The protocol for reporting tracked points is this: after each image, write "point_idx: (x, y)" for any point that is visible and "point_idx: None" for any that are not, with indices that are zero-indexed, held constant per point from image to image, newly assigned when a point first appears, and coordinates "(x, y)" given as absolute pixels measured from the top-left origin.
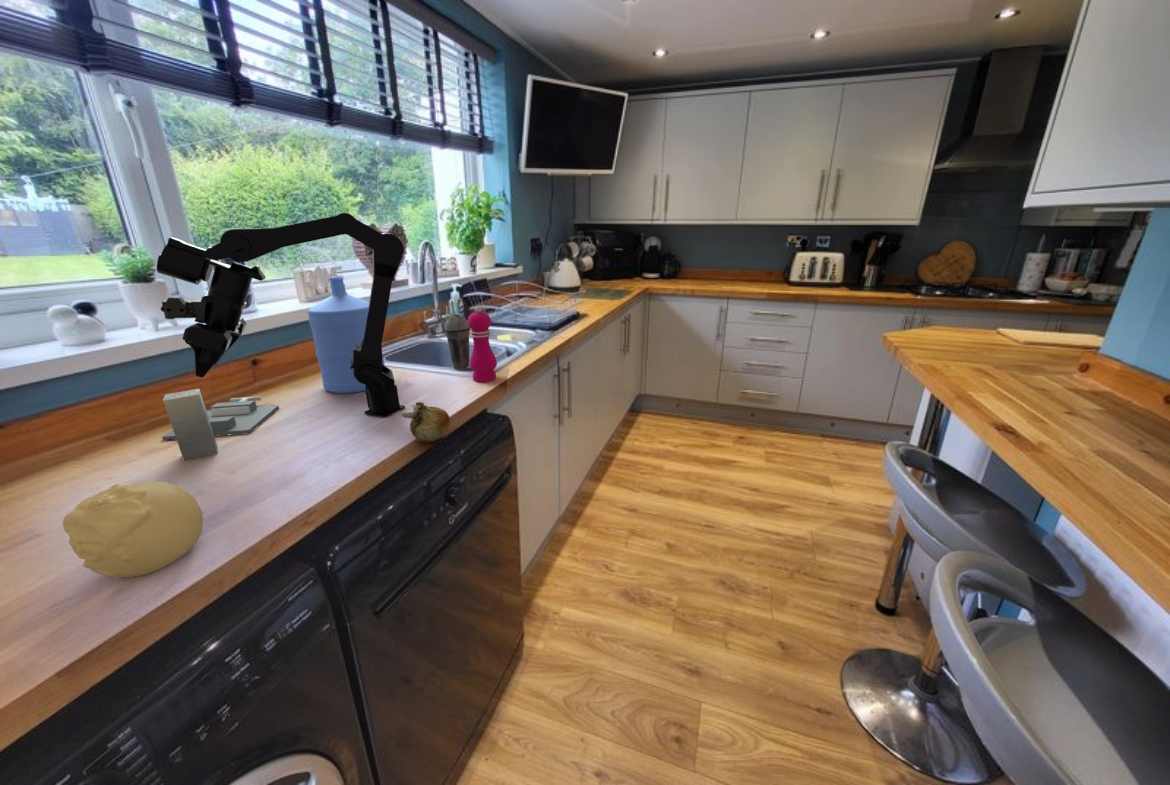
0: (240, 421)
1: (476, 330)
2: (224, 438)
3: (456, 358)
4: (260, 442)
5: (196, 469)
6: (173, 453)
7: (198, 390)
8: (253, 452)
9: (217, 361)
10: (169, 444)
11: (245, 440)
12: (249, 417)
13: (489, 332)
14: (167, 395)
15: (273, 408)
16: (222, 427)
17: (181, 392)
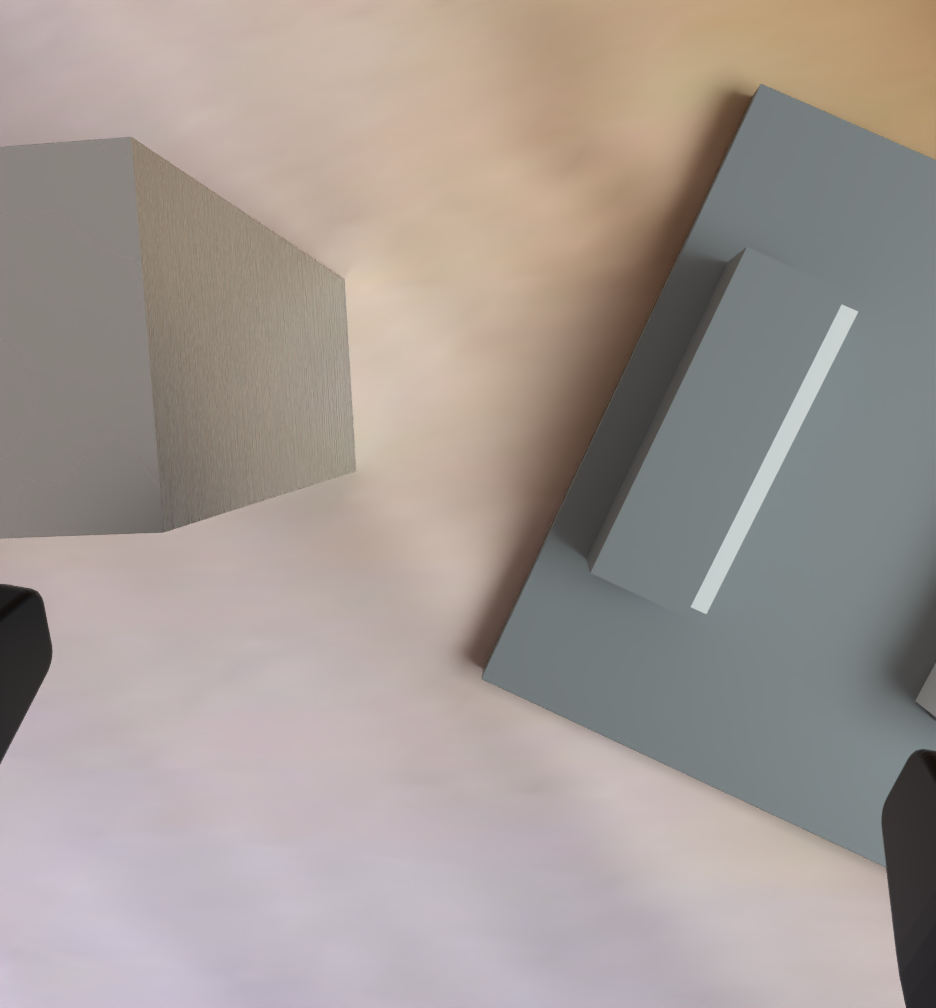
0: (738, 627)
1: None
2: (494, 509)
3: None
4: (253, 722)
5: None
6: (402, 204)
7: (68, 527)
8: (97, 675)
9: (897, 903)
10: (623, 153)
11: (356, 637)
12: (796, 692)
13: None
14: (54, 179)
15: None
16: (610, 513)
17: (98, 334)
